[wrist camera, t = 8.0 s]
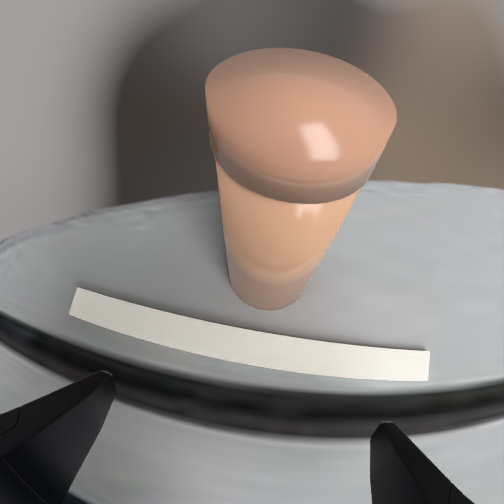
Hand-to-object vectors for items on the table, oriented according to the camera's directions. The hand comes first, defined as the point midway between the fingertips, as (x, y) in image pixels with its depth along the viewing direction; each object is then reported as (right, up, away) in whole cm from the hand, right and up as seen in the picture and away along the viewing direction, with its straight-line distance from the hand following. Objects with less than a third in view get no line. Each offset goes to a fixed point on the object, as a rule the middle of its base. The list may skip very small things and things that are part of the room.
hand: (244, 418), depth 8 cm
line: (0, 0, +8) cm, 8 cm away
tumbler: (+1, +4, +11) cm, 11 cm away
